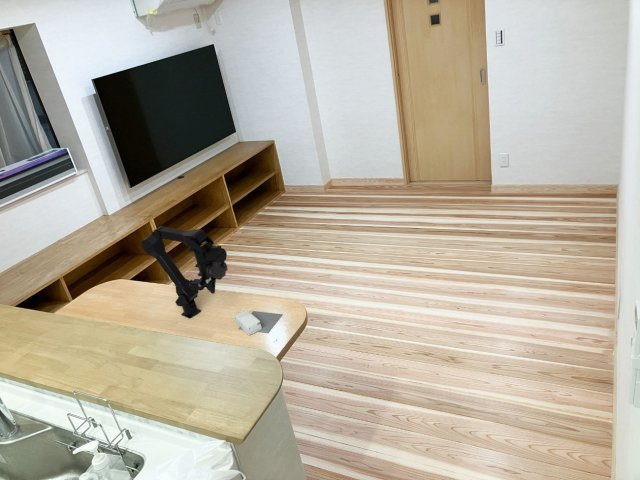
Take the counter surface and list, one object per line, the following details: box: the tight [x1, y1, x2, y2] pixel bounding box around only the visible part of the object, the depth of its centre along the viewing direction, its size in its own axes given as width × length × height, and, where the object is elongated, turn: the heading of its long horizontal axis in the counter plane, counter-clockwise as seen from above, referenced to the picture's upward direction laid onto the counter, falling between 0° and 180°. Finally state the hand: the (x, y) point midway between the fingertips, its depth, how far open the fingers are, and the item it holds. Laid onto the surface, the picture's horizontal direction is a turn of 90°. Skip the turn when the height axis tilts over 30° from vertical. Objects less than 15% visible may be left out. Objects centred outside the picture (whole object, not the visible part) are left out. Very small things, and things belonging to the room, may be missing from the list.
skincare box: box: [233, 309, 262, 336], centre depth 210 cm, size 6×4×12 cm
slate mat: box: [237, 310, 283, 334], centre depth 213 cm, size 14×13×1 cm
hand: (213, 293), depth 216 cm, fingers closed
